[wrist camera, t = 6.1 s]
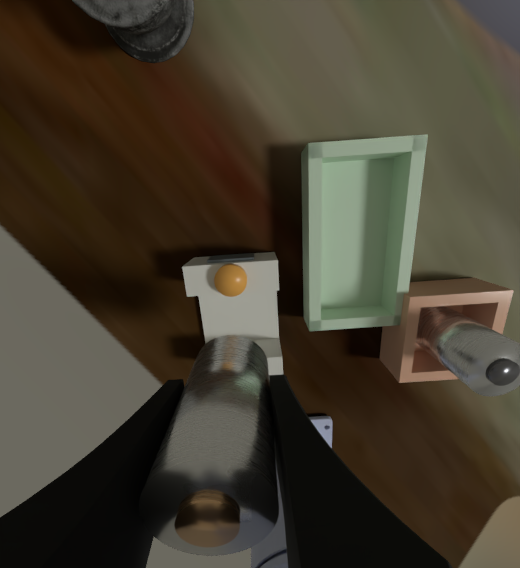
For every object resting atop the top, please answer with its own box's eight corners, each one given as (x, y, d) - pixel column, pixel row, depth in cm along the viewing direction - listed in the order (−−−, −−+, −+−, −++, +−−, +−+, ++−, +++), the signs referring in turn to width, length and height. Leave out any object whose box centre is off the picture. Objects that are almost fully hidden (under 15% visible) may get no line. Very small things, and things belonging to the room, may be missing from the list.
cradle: (279, 356, 21) (284, 386, 17) (209, 360, 21) (200, 391, 17) (274, 249, 18) (278, 258, 14) (193, 254, 18) (178, 265, 14)
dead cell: (446, 340, 20) (529, 398, 14) (402, 343, 20) (466, 402, 14) (453, 300, 19) (547, 343, 13) (407, 303, 19) (479, 347, 13)
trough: (387, 311, 19) (404, 324, 17) (303, 317, 19) (309, 331, 17) (404, 144, 16) (427, 134, 14) (301, 152, 16) (308, 143, 14)
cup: (458, 353, 21) (491, 376, 18) (379, 358, 21) (399, 382, 18) (474, 277, 19) (513, 290, 16) (386, 283, 19) (410, 297, 16)
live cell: (269, 395, 12) (281, 567, 6) (200, 398, 12) (147, 573, 6) (266, 333, 11) (278, 469, 5) (191, 336, 11) (118, 478, 5)
